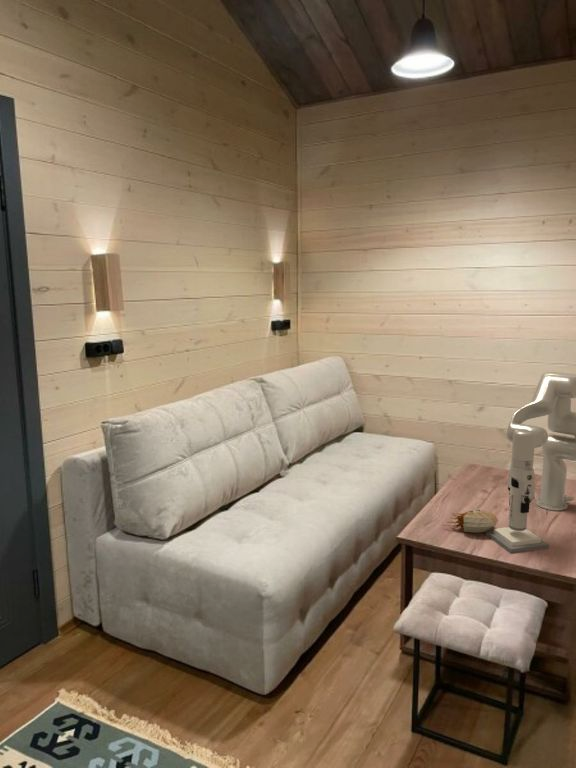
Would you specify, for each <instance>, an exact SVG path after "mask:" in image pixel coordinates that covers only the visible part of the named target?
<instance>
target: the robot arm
mask: <svg viewBox="0 0 576 768" xmlns="http://www.w3.org/2000/svg"><path fill="white" fill-rule="evenodd" d="M572 399H576V374H575V373H573V374H572V373H566V372H564V373H563V372H556V371H555V372H554V371H549V372H544V373H543V374H541V376H540V379H539V381H538V383H537V386H536V388H535V391H534V394H533V396H532V399H531V401H530V402H528V403H526V404H525V405H523V406H522V407H520V408H519V409H517V410H516V411H515V412H514V413H513V414H512V415H511V419H510V421H509V423H508V426H507V429H506V439H507V440H508V442H510V443H512V445H511V446H512V448H511V459H510V460H511V461H510V462H511V463H510V467H509V471H508V480H507V481H506V486H507V490H508V496H510V491H511V478H513V479H514V480H516V481H517V482H518V483H519V494H520V495H521V497H522V503H521V511H520V512H521V513H527V514H528V513H529V512H530V505H531V502H533V500H534V499H536V500H535V504H536V505H537V506H538V507H540V508H542V509H544V510H549V511H557V512H559V511H565V510H566V509H568V503H567V502H571V501H574V496H573V495H569V496H567V494H565V493H566V485H567V484H566V483H567V471H568V469H567V468H568V467H567V464H566V462H565V461H564V459H565V460H569V461H574V462H576V412H573V411H571V410H572V408H571V407H572ZM544 416H545V417H546V416H547V428H548V430H549V431H551V432H553V433H557V434H548V431H547V430H546V429H545V428H544V427H542V426H541V427H539V426H534V425H530V424H523V423H524V422H526V421H527V420H531V419H535V418H541V417H544ZM559 434H561V435H559ZM562 434H564V435H562ZM567 435H570V436H567ZM571 436H574V437H571ZM540 447H541V448H542V449H541V450H542V469H541V470H542V471H541V484H540V496H539V498H536V495H535V490H536V489H535V488H536V487H535V485H536V483H535V482H536V481H535V479H536V478H535V470H534V458H535V457H534V456H535V448H540ZM526 492H527V494H525V493H526ZM525 496H527V498H526V499H525ZM508 505H509V506H510V497H509V500H508Z"/></svg>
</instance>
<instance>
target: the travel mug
mask: <svg viewBox="0 0 576 768" xmlns="http://www.w3.org/2000/svg"><path fill="white" fill-rule="evenodd" d="M525 494H527V492H526V493H525ZM509 498H510V505H509V510H508V511H509V512H508V527H509V528H510V529H512V530H515V531H524V530H526V529H527V522H528V513H521V512H520V511H521V503H522V497H521V495H520V494H519V483H518V482H517V481H516V480H514V479H513V478H511V491H510V495H509ZM526 498H527V496H525V499H526Z"/></svg>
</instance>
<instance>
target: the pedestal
mask: <svg viewBox="0 0 576 768" xmlns="http://www.w3.org/2000/svg"><path fill="white" fill-rule="evenodd" d="M485 535H486V536H487V537H489V538H490V539H491V540H492V541H494V542H495V543H496V544H498V545H499V546H500V547H501V548H503V549H504V550H505V551H507V552H508V553H509V554H512V553H513V554H515V553H520V552H522V553H524V552H529V551H538V550H544V549H549V548H550V544H549V543H547V541H545V540H543V539H542V538H541V537H539V536H537V535H536V534H534V533H533V532H531V531H530V530H529V529H527V528H526V530H524V531H515V530H512V529H510V528H509V526H507V527H499V528H498V527H497V528H493V529H489V530H487V531H485Z"/></svg>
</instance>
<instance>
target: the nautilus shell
mask: <svg viewBox="0 0 576 768" xmlns="http://www.w3.org/2000/svg"><path fill="white" fill-rule="evenodd" d="M451 519H453V520H455V521H448V523H452V524H455V525H451V526H450V529H454V530H453V531H456V529H457V531H458V530H459V531H460V529H461V531H463V532H466V533H467V532H469V533H484V532H486V531H489V530H492V529H494V527H495V526H496V525H497V524H498V522H499V519H498V518H497V516H496V515H495V513H493V512H491V511H485V510H480V509H476V510H467V511H466V512H464V513H458V514H453V517H451ZM442 526H444V527H448V524H447V525H445V524H443V525H442Z"/></svg>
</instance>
